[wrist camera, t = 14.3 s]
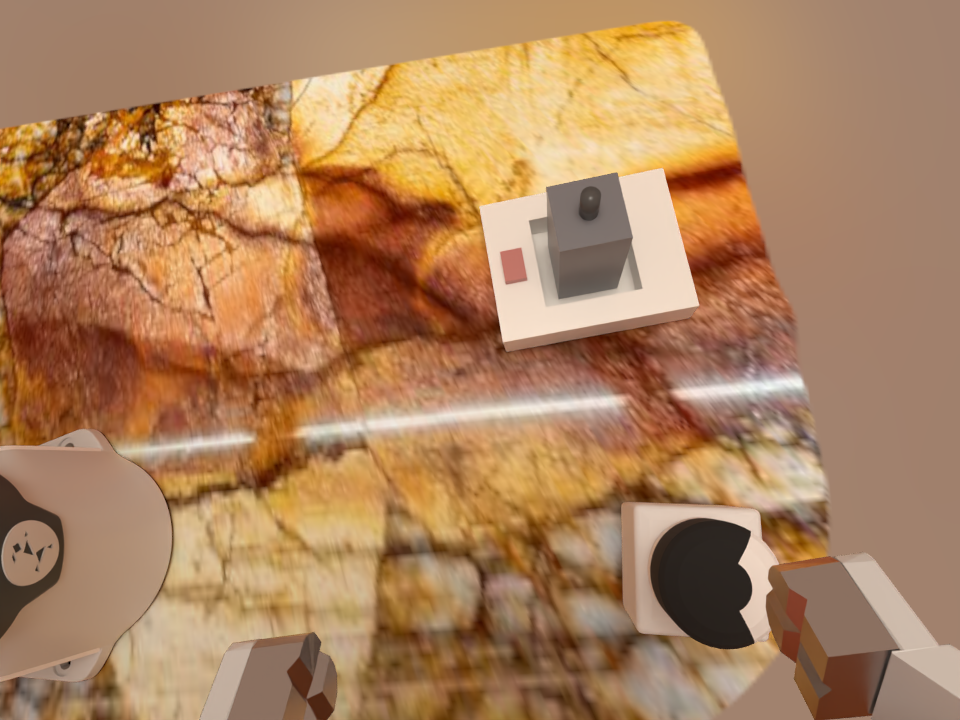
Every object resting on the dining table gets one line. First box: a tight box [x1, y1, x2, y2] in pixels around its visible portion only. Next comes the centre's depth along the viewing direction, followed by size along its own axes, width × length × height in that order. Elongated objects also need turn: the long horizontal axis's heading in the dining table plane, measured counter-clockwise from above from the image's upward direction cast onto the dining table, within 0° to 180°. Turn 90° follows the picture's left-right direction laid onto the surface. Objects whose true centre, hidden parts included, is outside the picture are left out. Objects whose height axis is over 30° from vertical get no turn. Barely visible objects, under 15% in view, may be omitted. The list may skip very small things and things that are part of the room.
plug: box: [546, 173, 633, 299], centre depth 38 cm, size 4×4×11 cm
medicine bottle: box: [621, 502, 779, 649], centre depth 33 cm, size 7×7×12 cm
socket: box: [479, 168, 699, 352], centre depth 43 cm, size 14×11×4 cm
